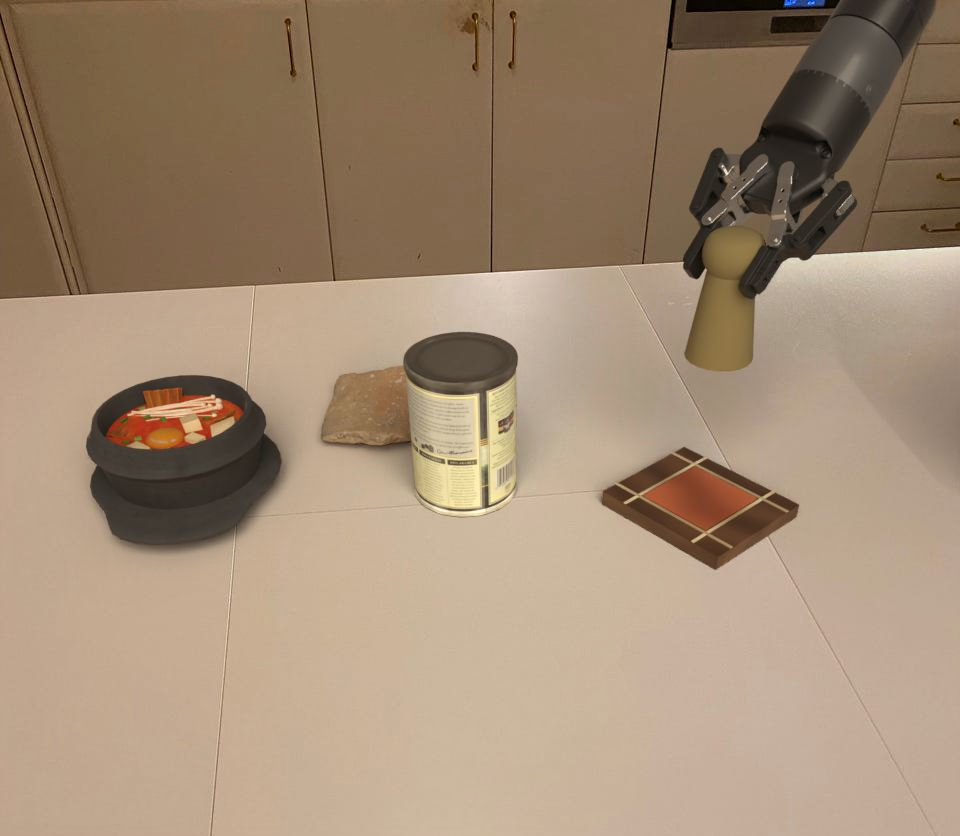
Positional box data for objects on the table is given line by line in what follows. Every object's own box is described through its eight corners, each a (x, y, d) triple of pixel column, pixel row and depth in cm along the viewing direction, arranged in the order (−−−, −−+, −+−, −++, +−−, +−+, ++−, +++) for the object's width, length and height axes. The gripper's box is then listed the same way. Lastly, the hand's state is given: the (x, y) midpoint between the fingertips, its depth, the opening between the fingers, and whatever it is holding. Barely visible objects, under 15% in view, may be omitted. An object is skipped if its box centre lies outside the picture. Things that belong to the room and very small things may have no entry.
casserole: (116, 429, 107) (94, 357, 102) (287, 416, 109) (275, 345, 103) (73, 569, 89) (44, 492, 83) (280, 552, 90) (265, 474, 85)
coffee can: (423, 457, 102) (414, 328, 93) (522, 463, 101) (523, 333, 91) (403, 514, 95) (392, 380, 85) (510, 521, 93) (510, 386, 84)
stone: (438, 389, 113) (437, 363, 111) (408, 460, 101) (406, 432, 99) (345, 383, 114) (342, 357, 112) (305, 452, 103) (301, 425, 101)
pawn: (683, 369, 86) (699, 242, 79) (685, 339, 91) (700, 216, 83) (753, 373, 86) (776, 246, 78) (752, 342, 90) (773, 219, 83)
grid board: (682, 459, 101) (684, 445, 100) (796, 517, 93) (800, 503, 92) (601, 504, 95) (602, 490, 94) (715, 570, 87) (718, 556, 86)
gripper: (919, 144, 79) (800, 331, 82) (772, 110, 87) (668, 281, 90) (900, 82, 73) (772, 286, 75) (744, 52, 81) (633, 237, 84)
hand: (716, 282), depth 83 cm, fingers closed on pawn, 5 cm apart
